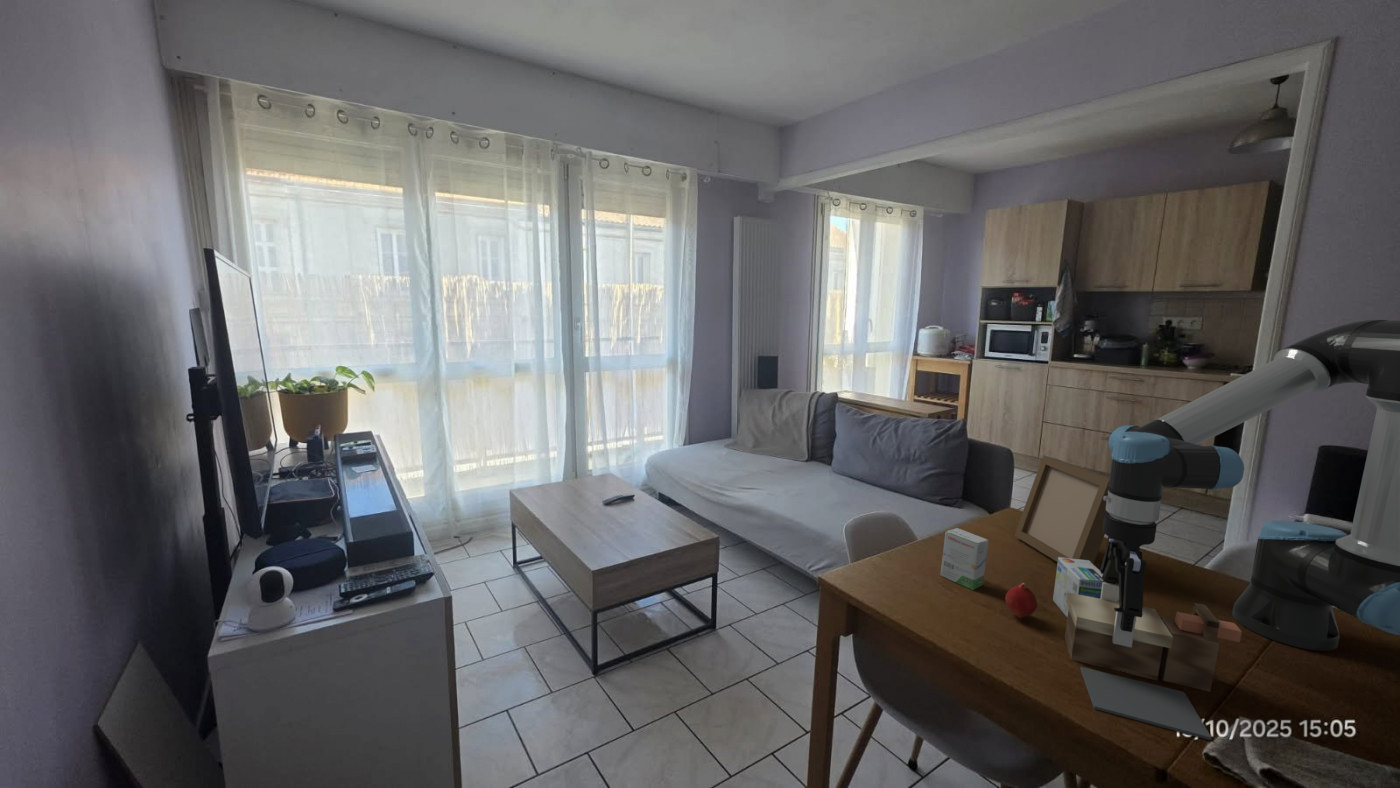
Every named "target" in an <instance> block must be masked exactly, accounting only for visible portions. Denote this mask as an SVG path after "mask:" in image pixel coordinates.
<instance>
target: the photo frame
mask: <svg viewBox="0 0 1400 788" xmlns="http://www.w3.org/2000/svg"><path fill="white" fill-rule="evenodd" d="M1109 479H1110V477H1107V476H1105V475H1102V474H1099V473H1097V472H1094V471H1090V470H1088V469H1086V468H1082V467H1080V466H1077V465H1074V464H1072V463H1069V462H1067V461H1063V460H1061V459H1058V458H1054V457H1051V456H1048V455H1042V459H1041V460H1040V463H1039V466H1038V469H1037V472H1036V475H1035V477H1034V480H1033V483H1032V486H1031V489H1030V492H1029V493H1028V497H1027V500H1026V502H1025V505H1024V508H1023V510H1022V514H1021V516H1020V519H1019V520H1018V521H1019V522H1018V525H1017V527H1016V530H1015V533H1014V537H1016V538H1018V539H1020V540H1021V541H1023V542H1024V543H1026V544H1027V545H1029V546H1030V547H1032V548H1034V549H1036V550H1037V551H1039V552H1040V553H1042V554H1043V555H1045V556H1047V557H1049V558H1050V559H1052V561H1055V562H1056V563H1058V557H1063V558H1070V559H1080V560H1089V561H1090V562H1091V563H1092V564H1093V565H1095V564H1094V563H1095V561H1096V559H1097V556H1098V553H1099V551H1100V549H1101V545H1102V542H1103V540H1104V538H1105V535H1106V534H1105V533H1104V532H1103V521H1104V515H1105V514H1106V513H1107V511H1106V502H1107V501H1104V500H1103V497H1104V496H1108V488H1109Z"/></svg>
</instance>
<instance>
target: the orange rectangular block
mask: <svg viewBox="0 0 1400 788" xmlns="http://www.w3.org/2000/svg"><path fill="white" fill-rule="evenodd" d="M1174 619H1175V623H1176V624H1177V626H1178V627H1179V628H1180V630H1183V631H1188V632H1193V633H1198V634H1203V628H1204V622H1203V620H1202V619H1201V618H1200V617H1199V616H1196V615H1192V614H1189V613H1185V612H1180V611H1176V613H1175V618H1174ZM1217 620H1218V621H1219V622H1220V623H1219V628H1218V634H1217V639H1218V638H1219V639H1222V640H1227V641H1232V642H1237V643H1241V638H1242V633H1243V631H1242V630H1241V628H1239V626H1237V624H1236V623H1235V622H1231V621H1230V622H1229V621H1225V620H1221V619H1217Z"/></svg>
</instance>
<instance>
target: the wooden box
mask: <svg viewBox="0 0 1400 788" xmlns="http://www.w3.org/2000/svg"><path fill="white" fill-rule="evenodd" d="M1193 603H1194V604H1193V607H1192V608H1193V609H1192V614H1191V615H1196V616H1199V617H1200V618H1201V619H1202V620H1203V622H1204V628H1203V634H1198V633H1193V632H1188V631H1183V630H1180V628H1179V627H1178V626H1177V624H1176V623H1175V618H1172V617H1168V616H1165V615H1164V616H1163V615H1159V616H1160V618H1161V619H1162V621H1163V622H1164V624H1165V625H1166V627H1167V628H1168V630H1169V631H1170V633H1171V634H1172V636H1173V641H1172V647H1171V648H1167V647H1162V646H1158V645H1153V644H1148V643H1144V642H1139V641H1135V640H1133V642H1132V647H1127V646H1123V645H1118V644H1114V643H1113V642H1112V638H1113V636H1111V635H1107V634H1102V633H1097V632H1093V631H1088V630H1083V629H1079V628H1076V627H1075V625H1074V622H1073V620H1072V617H1071V614H1070V612H1069V610H1068V617H1066V618H1067V619H1066V626H1065V633H1064V642H1065V645H1066V649H1067V651H1068V654H1069V657H1070V660H1071V661H1075V662H1080V663H1084V664H1088V665H1091V666H1096V667H1100V668H1103V669H1108V668H1109V669H1108V670H1113V671H1116V670H1117V672H1120V671H1121V673H1124V672H1125V674H1129V675H1134V676H1138V677H1142V678H1146V679H1150V680H1153V681H1158V678H1159V676H1160V677H1161V679H1162V681H1164V682H1168V683H1173V684H1176V685H1181V686H1185V687H1188V688H1193V689H1197V690H1202V691H1206V692H1211V691H1212V690H1211V689H1212V686H1213V685H1212V684H1213V679H1214V674H1215V669H1216V664H1217V660H1218V653H1219V650H1220V649H1219V648H1220V644H1221V643H1220V641H1219V640H1218V638H1217V634H1218V628H1219V623H1220V622H1219V621H1218V620H1219V619H1218V618H1217V617H1216V616H1215V615H1214V614H1213V613H1212V611H1211V610H1210V609H1209V608H1208V606H1206V605H1205V604H1204V603H1196V602H1193Z"/></svg>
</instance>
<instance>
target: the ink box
mask: <svg viewBox="0 0 1400 788" xmlns="http://www.w3.org/2000/svg"><path fill="white" fill-rule="evenodd" d="M989 542H990V540H989V539H987V538H984V537H982V536H979V535H976V534H973V533H972V532H969V531H966V530H963V529H961V528H958V527H955V528H952V529H949V530H945V534H944V543H943V549H942V550H943V551H942V559H941V567H940V574H939V575H940V576H941V577H943V578H945V579H946V580H947V579H948V580H949V581H951V582H954V583H956V584H958V585H960V586H963V587H965V588H967V589H969V590H971V591H974V590H976V589H978V588H980V587H982V586H983V585H984V581H985V580H984V579H985V570H986V564H987V556H988V549H989V544H990V543H989Z"/></svg>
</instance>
